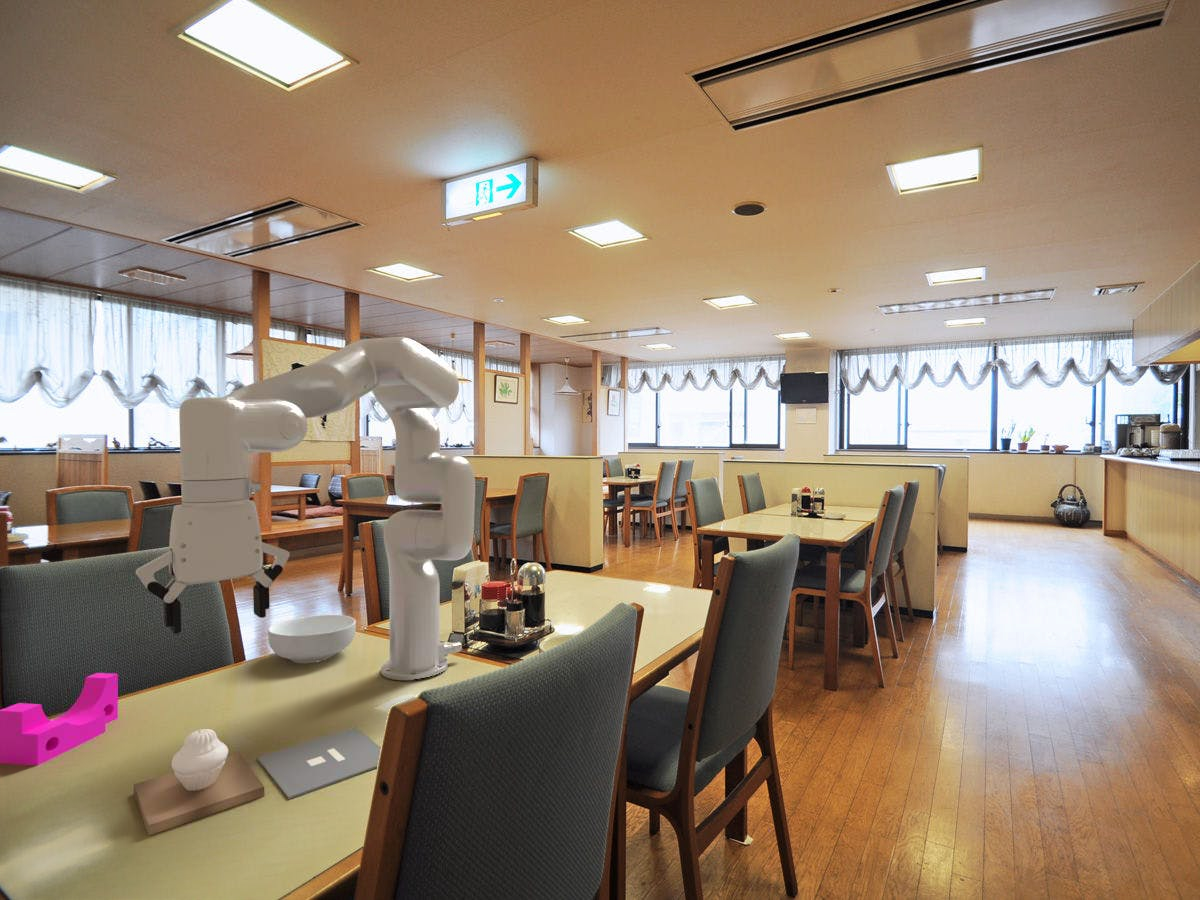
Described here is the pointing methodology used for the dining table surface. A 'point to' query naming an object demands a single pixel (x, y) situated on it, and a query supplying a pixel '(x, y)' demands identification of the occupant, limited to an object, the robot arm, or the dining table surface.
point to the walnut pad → (195, 796)
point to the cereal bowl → (311, 637)
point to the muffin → (199, 760)
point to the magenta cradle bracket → (58, 723)
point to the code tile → (321, 761)
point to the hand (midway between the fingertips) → (219, 623)
